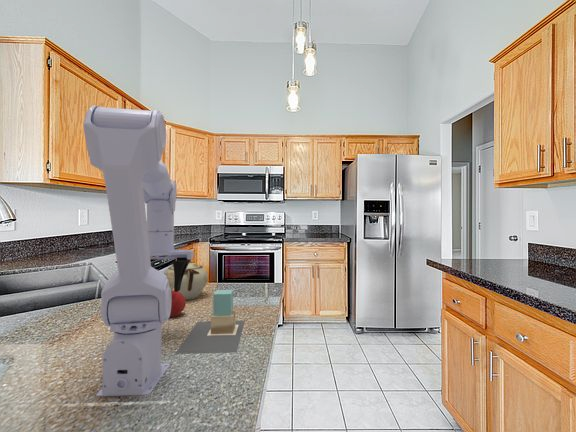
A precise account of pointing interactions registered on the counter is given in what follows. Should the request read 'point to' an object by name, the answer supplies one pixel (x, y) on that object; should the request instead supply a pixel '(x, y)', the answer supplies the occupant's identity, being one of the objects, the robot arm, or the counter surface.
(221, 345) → the mat
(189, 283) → the cream rounded vessel
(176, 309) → the onion
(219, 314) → the teal block
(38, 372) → the counter surface
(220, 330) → the maple block
